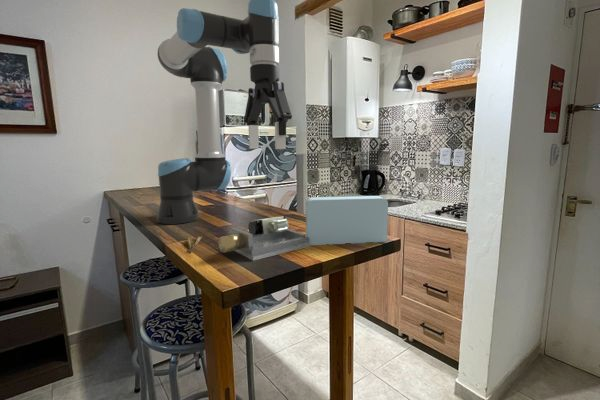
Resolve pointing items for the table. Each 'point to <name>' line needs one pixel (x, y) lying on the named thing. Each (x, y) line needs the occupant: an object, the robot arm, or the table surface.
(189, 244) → the tongs
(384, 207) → the pale blue rectangular block
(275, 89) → the robot arm
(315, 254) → the table surface
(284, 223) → the pneumatic valve
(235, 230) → the cradle
